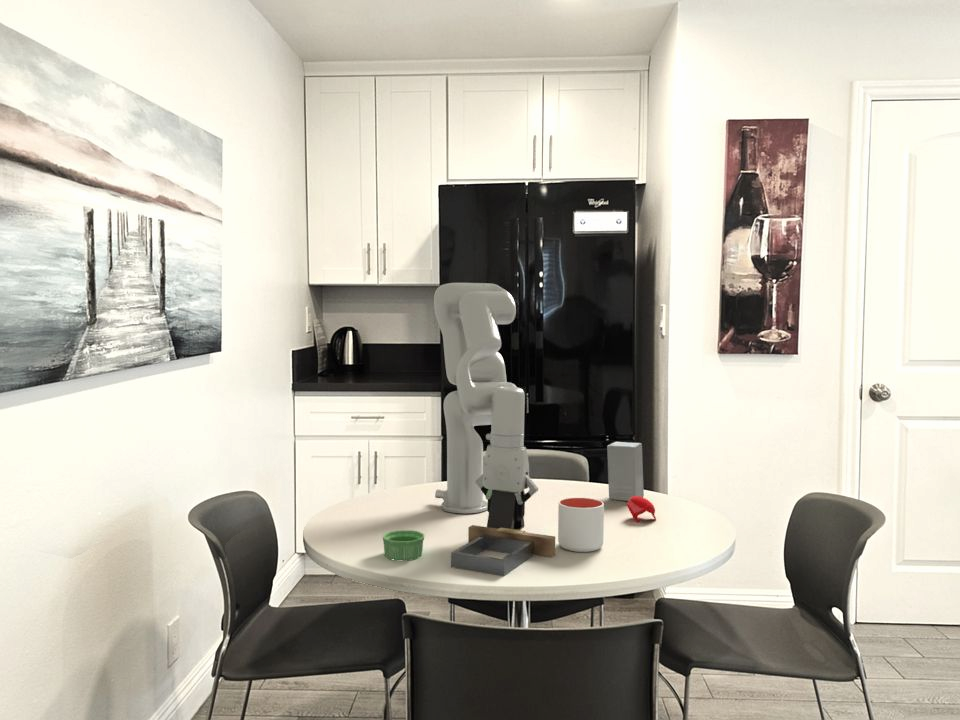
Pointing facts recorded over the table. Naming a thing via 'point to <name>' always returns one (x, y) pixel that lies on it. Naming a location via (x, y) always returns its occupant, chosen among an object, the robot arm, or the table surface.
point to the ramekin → (403, 544)
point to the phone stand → (503, 511)
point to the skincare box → (625, 470)
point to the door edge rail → (542, 543)
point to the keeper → (472, 561)
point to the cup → (581, 524)
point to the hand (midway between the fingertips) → (505, 516)
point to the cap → (640, 507)
